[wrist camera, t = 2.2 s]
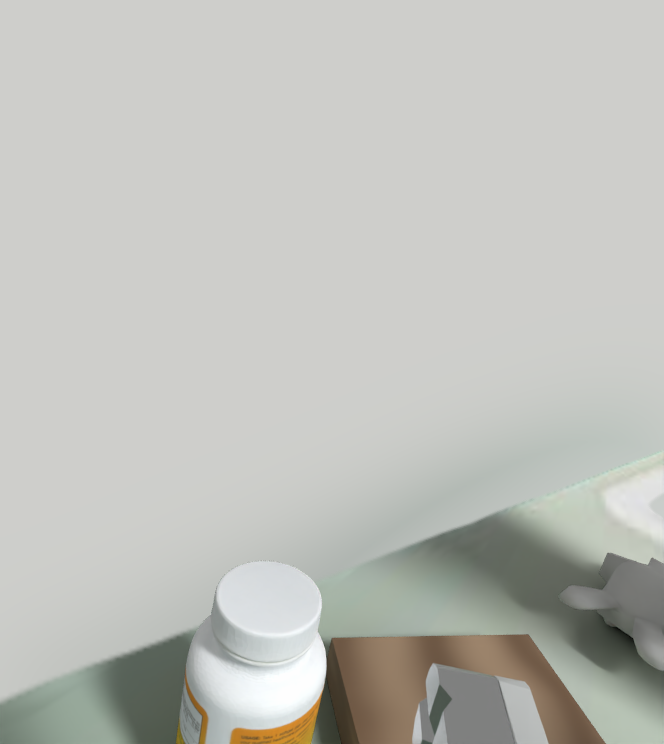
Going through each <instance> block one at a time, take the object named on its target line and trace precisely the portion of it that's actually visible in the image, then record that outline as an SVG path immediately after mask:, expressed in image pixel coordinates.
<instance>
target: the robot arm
mask: <svg viewBox="0 0 664 744" xmlns="http://www.w3.org/2000/svg"><path fill="white" fill-rule="evenodd" d="M426 691H427V698H425V699H424V700H422V701H421V702H419V705H418V709H417V713H416V717H415V722H414V729H413V737H412V744H549V743H548V740H547V737H546V734H545V731H544V728H543V725H542V723H541V720H540V717H539V714H538V711H537V708H536V705H535V702H534V699H533V696H532V693H531V690H530V687H529V686H528V685H527V684H526V682H524V681H519V680H514V679H509V678H504V677H500V676H495V675H494V676H492V675H488V674H483V673H479V672H474V671H469V670H464V669H460V668H455V667H450V666H445V665H441V664H436V663H433V664H432V666H431V667H430V669H429V672H428V675H427V678H426Z"/></svg>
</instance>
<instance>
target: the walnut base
mask: <svg viewBox="0 0 664 744" xmlns="http://www.w3.org/2000/svg"><path fill="white" fill-rule="evenodd" d="M433 663H436V664H441V665H445V666H450V667H455V668H460V669H464V670H469V671H474V672H479V673H483V674H488V675H492V676H494V675H495V676H500V677H504V678H509V679H514V680H519V681H524V682H526V684H527V685H528V686H529V687H530V690H531V693H532V696H533V699H534V702H535V705H536V708H537V711H538V714H539V717H540V720H541V723H542V725H543V728H544V731H545V734H546V737H547V740H548V743H549V744H606V743H605V742H604V741H603V739H602V738H601V736H600V735H599V734H598V732H597V731H596V729H595V728H594V726H593V725H592V724H591V722H590V721H589V719H588V718H587V717H586V715H585V714H584V712H583V711H582V710H581V708H580V707H579V705H578V704H577V702H576V701H575V700H574V698H573V697H572V695H571V694H570V693H569V691H568V690H567V688H566V687H565V686H564V684H563V683H562V681H561V680H560V678H559V677H558V676H557V674H556V673H555V671H554V670H553V669H552V667H551V666H550V664H549V663H548V661H547V660H546V659H545V657H544V656H543V654H542V653H541V652H540V650H539V649H538V647H537V646H536V645H535V643H534V642H533V640H532V639H531V637H530V636H529V635H473V636H417V637H361V638H332V640H331V644H330V649H329V653H328V657H327V662H326V665H327V667H326V677H327V682H328V686H329V691H330V695H331V699H332V704H333V708H334V713H335V717H336V721H337V726H338V730H339V735H340V739H341V743H342V744H412V737H413V729H414V722H415V717H416V713H417V709H418V705H419V702H421V701H422V700H424V699H425V698H427V691H426V678H427V675H428V672H429V669H430V667H431V666H432V664H433Z"/></svg>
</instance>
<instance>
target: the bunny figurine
mask: <svg viewBox="0 0 664 744" xmlns="http://www.w3.org/2000/svg"><path fill="white" fill-rule="evenodd" d="M599 574H600V576H601V577H602V578H603V579H604V580H605V582H606V583H607V584H606V585H605V587H604V588H603V590H600V589H595V588H590V587H584V586H578V585H570V586H569V587H567V588H566V589H565V590H564V591H562V592H561V593H560V594H559V599H560V600H561V601H562V602H563V603H564V604H566V605H568V606H570V607H572V608H574V609H578V610H597V613H599V614H600V615H601V616H603V618H604V621H605V623H606V624H608V625H609V626H611V627H618V628H619V629H621V630H622V631H624V632H625V633H626V634H628V635H629V636H631V637H632V638H633V639H634V642H635V646H636V649H637V652H638V654H639V655H640V656H641V658H642V659H643V660H644V661H646V662H647V663H648V664H649V665H651V666H652V667H654V668H656V669H658V670H659V671H664V564H663V563H661V562H659V561H658V560H656V559H654V558H651V560H650V562H649V564H648V565H646V564H642V563H638V562H636V561H633V560H630V559H627V558H624V557H621V556H619V555H616V554H613V553H607V555H606V558H605V560H604V562H603V565H602V567H601V569H600V571H599Z"/></svg>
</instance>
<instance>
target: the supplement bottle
mask: <svg viewBox="0 0 664 744" xmlns="http://www.w3.org/2000/svg"><path fill="white" fill-rule="evenodd" d="M321 609H322V598H321V594H320V591H319V589H318V587H317V586H316V584H315V583H314V582H313V580H312V579H311V578H310V577H308V576H307V575H306V574H305V573H303V572H301V571H300V570H299V569H296V568H294V567H293V566H290V565H287V564H283V563H280V562H273V561H254V562H248V563H245V564H242V565H239V566H237V567H235V568H233V569H232V570H230V571H229V572H227V573H226V574H225V575H224V576H223V577H222V579H221V580H220V582H219V583H218V586H217V588H216V592H215V597H214V603H213V608H212V612H211V615H210V616H209V617H208V618H206V620H205V621H204V622H203V623H202V624H201V625H200V627H199V628H198V630H197V631H196V633H195V635H194V637H193V639H192V641H191V645H190V648H189V652H188V657H187V662H186V668H185V677H184V685H183V693H182V701H181V708H180V716H179V723H178V730H177V739H176V744H311V741H312V736H313V732H314V727H315V722H316V718H317V714H318V709H319V705H320V700H321V696H322V692H323V688H324V683H325V676H326V667H327V665H326V652H325V647H324V644H323V641H322V639H321V637H320V635H319V633H318V626H319V620H320V615H321Z"/></svg>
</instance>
